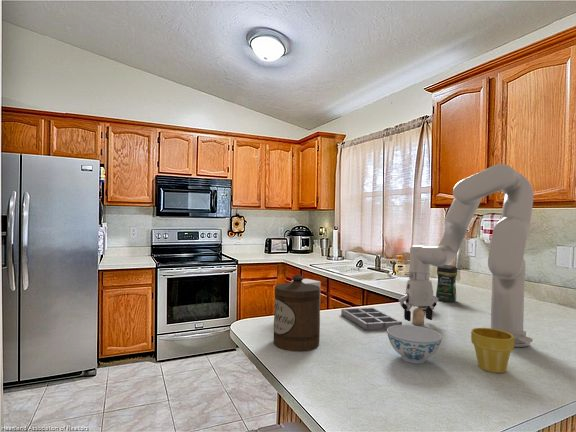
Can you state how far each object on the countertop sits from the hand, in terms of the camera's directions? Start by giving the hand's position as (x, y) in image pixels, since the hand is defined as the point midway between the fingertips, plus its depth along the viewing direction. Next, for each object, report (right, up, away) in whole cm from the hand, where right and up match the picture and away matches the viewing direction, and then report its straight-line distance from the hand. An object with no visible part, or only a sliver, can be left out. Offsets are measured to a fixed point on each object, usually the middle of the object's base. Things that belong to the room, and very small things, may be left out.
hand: (418, 319), depth 141 cm
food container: (+12, -2, +24) cm, 27 cm away
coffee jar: (+31, -3, +44) cm, 54 cm away
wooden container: (-49, 0, -26) cm, 56 cm away
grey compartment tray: (-19, -1, +1) cm, 19 cm away
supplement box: (-45, -1, +5) cm, 45 cm away
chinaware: (-15, -1, -37) cm, 40 cm away
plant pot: (+5, -1, -42) cm, 42 cm away
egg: (0, -2, 0) cm, 2 cm away
